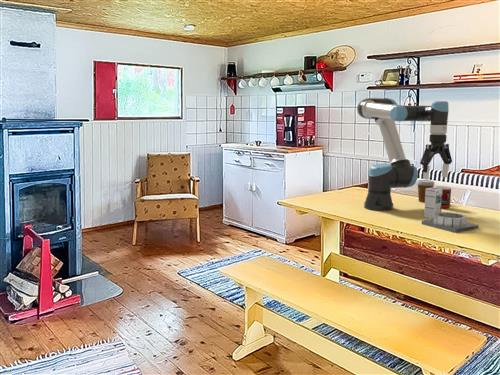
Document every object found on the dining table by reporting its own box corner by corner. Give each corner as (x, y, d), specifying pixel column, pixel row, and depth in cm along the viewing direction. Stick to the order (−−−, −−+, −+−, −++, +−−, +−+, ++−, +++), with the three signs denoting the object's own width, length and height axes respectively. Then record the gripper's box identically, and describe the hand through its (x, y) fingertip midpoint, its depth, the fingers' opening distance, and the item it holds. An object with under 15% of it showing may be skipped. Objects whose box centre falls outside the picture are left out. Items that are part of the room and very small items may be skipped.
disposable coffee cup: (413, 199, 278) (415, 179, 276) (430, 200, 277) (432, 179, 275) (418, 203, 269) (419, 182, 267) (435, 203, 268) (436, 182, 266)
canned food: (441, 209, 252) (443, 189, 250) (431, 206, 259) (432, 186, 257) (453, 208, 255) (454, 188, 253) (441, 205, 262) (443, 186, 260)
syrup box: (434, 219, 230) (436, 189, 227) (423, 216, 234) (425, 187, 232) (441, 217, 233) (443, 188, 231) (430, 215, 238) (432, 186, 235)
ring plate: (421, 223, 220) (422, 213, 219) (444, 220, 228) (445, 209, 227) (455, 232, 205) (456, 221, 204) (478, 228, 213) (479, 217, 212)
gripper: (427, 134, 218) (424, 180, 221) (461, 133, 230) (458, 177, 233) (413, 134, 224) (411, 178, 227) (448, 133, 236) (445, 175, 240)
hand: (435, 178), depth 230 cm, fingers open, 13 cm apart
